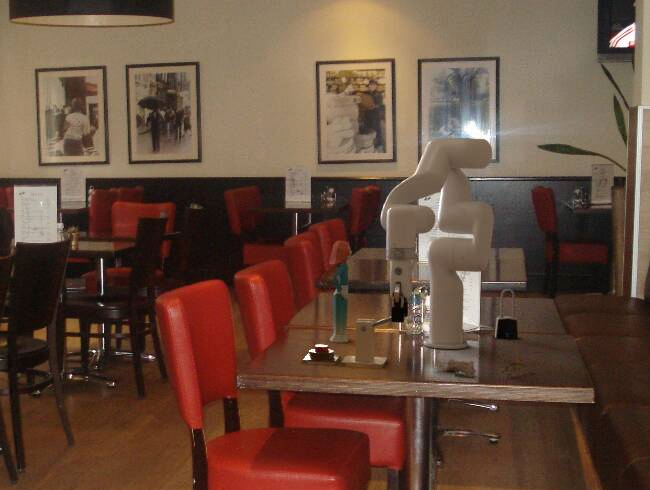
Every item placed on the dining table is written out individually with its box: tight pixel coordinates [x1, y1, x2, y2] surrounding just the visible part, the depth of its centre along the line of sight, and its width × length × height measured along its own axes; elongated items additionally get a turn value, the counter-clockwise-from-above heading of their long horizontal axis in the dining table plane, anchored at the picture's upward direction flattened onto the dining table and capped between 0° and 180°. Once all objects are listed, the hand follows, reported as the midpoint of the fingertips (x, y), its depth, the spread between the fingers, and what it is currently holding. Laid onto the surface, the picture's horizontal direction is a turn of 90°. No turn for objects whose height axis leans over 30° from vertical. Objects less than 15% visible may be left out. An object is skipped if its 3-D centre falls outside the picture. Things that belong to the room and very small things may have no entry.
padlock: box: [494, 288, 520, 340], centre depth 316 cm, size 7×4×15 cm, turn 80°
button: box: [314, 344, 330, 352], centre depth 281 cm, size 4×4×2 cm
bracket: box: [341, 318, 388, 366], centre depth 277 cm, size 11×9×12 cm
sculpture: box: [328, 240, 353, 343], centre depth 311 cm, size 13×7×30 cm, turn 168°
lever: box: [368, 313, 405, 327], centre depth 276 cm, size 12×5×2 cm, turn 74°
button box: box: [302, 348, 342, 363], centre depth 281 cm, size 9×8×3 cm
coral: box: [434, 358, 477, 378], centre depth 265 cm, size 6×10×4 cm, turn 61°
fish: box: [501, 356, 533, 378], centre depth 262 cm, size 12×2×5 cm, turn 126°
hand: (399, 319), depth 274 cm, fingers open, 9 cm apart
